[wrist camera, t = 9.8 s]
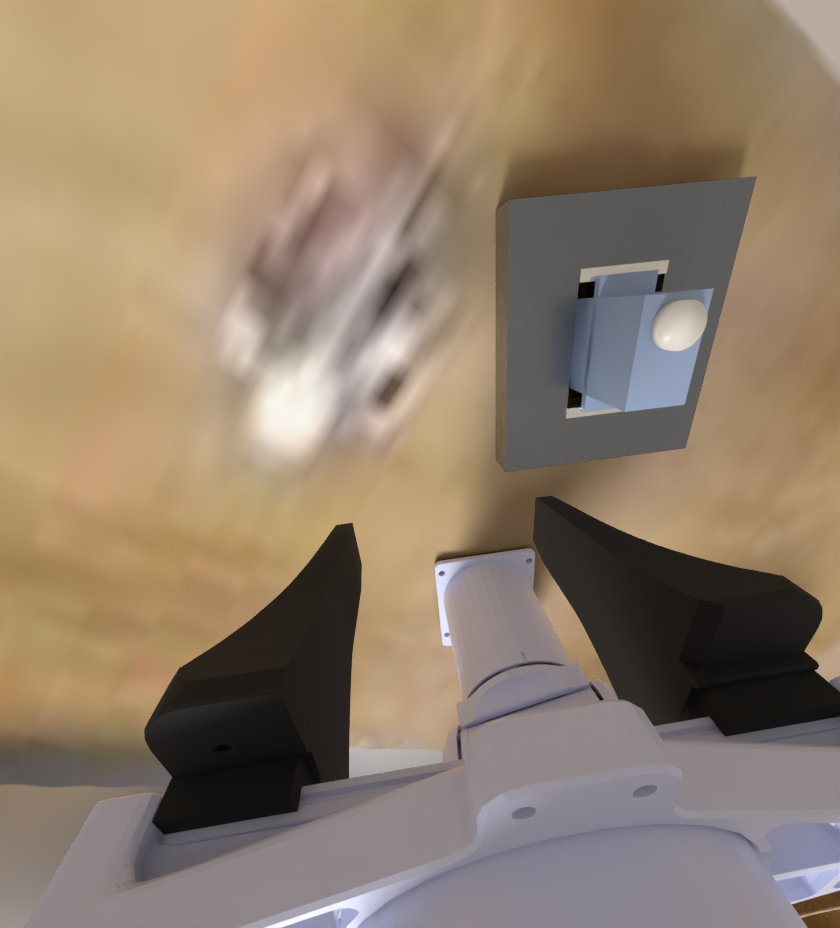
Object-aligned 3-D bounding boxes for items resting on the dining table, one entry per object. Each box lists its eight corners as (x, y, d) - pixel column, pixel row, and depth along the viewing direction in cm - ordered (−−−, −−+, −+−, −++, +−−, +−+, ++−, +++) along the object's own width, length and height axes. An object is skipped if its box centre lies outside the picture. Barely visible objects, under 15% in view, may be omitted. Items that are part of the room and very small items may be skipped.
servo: (607, 395, 22) (689, 428, 16) (562, 401, 22) (629, 435, 16) (624, 274, 19) (735, 258, 13) (573, 279, 19) (661, 266, 13)
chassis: (662, 437, 24) (686, 448, 22) (495, 459, 23) (505, 472, 21) (718, 189, 18) (758, 175, 16) (495, 211, 17) (509, 199, 15)
